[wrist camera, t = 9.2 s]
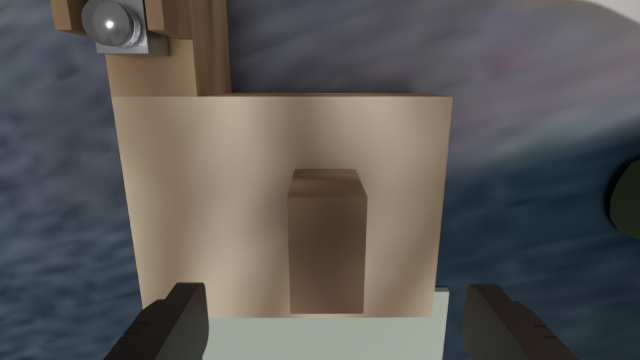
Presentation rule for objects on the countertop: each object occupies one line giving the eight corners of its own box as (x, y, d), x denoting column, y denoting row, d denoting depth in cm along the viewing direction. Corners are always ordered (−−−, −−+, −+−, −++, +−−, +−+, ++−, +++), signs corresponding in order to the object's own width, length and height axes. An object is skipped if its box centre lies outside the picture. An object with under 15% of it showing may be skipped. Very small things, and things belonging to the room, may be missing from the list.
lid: (158, 299, 22) (95, 384, 15) (130, 95, 18) (38, 101, 12) (422, 298, 22) (463, 382, 16) (440, 95, 18) (500, 101, 12)
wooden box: (188, 258, 27) (114, 358, 17) (160, -9, 22) (35, -81, 12) (403, 257, 27) (451, 357, 17) (421, -8, 22) (502, -79, 12)
